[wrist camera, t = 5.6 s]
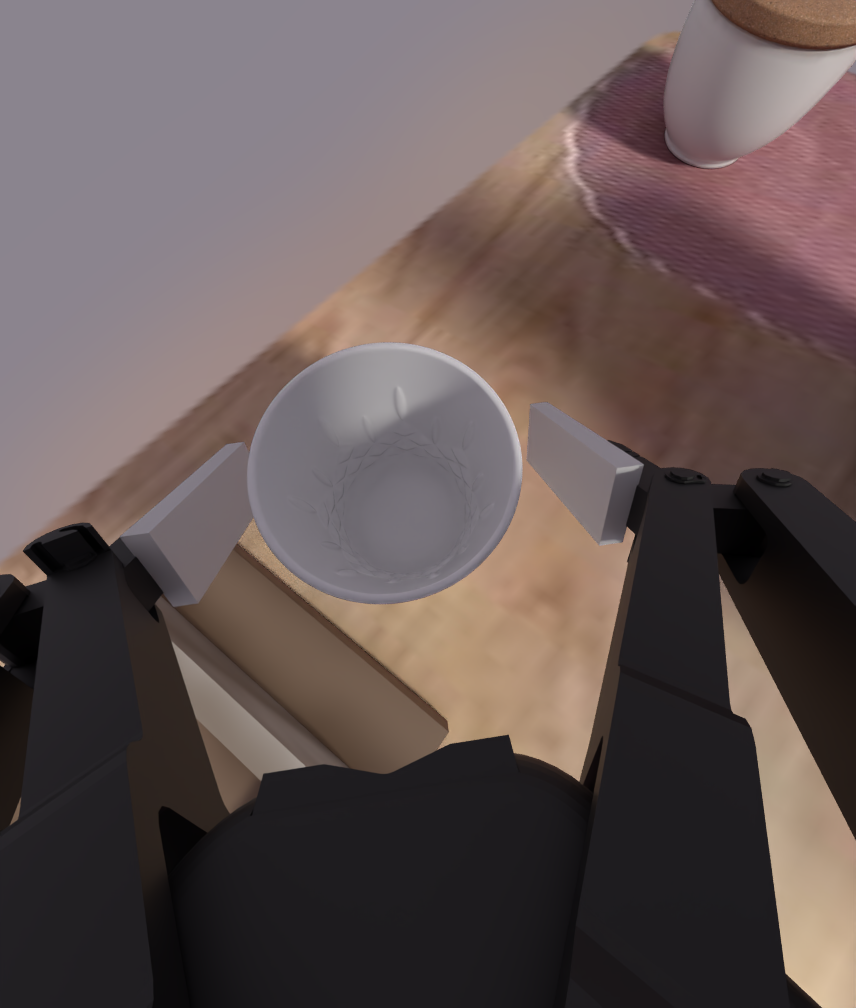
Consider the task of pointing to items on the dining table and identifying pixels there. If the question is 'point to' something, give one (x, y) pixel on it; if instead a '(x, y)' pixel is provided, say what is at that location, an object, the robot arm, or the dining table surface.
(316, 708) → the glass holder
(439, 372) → the white cup
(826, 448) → the dining table surface
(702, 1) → the lidded jar
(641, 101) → the dining table surface
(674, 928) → the robot arm
